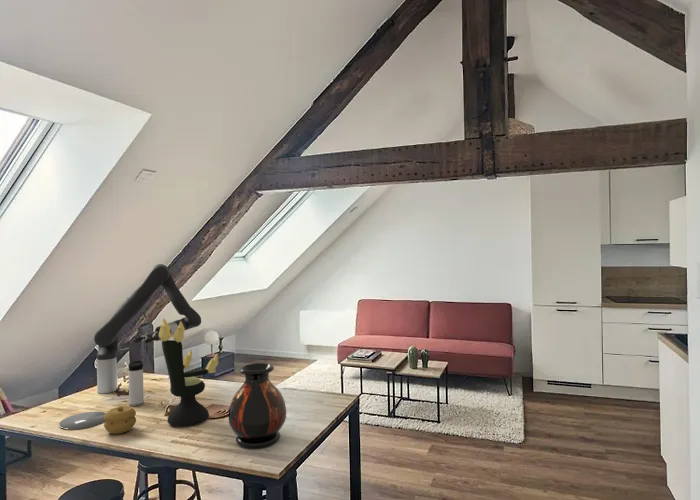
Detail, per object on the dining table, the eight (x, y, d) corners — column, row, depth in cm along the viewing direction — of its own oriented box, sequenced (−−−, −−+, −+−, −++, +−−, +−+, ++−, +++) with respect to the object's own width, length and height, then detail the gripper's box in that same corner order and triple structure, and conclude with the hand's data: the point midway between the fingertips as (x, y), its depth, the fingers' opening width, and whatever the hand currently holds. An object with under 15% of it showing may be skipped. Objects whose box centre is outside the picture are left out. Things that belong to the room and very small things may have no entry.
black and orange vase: (234, 430, 184) (233, 360, 184) (288, 428, 185) (287, 359, 185) (223, 454, 162) (221, 375, 162) (284, 451, 164) (283, 373, 164)
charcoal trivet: (59, 419, 200) (59, 417, 200) (106, 411, 209) (106, 408, 209) (59, 433, 185) (59, 430, 185) (109, 423, 194) (109, 421, 194)
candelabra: (221, 417, 198) (219, 313, 198) (178, 436, 179) (176, 321, 179) (191, 410, 208) (189, 311, 207) (147, 427, 189) (145, 318, 188)
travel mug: (146, 401, 221) (145, 360, 221) (139, 406, 214) (138, 364, 214) (134, 401, 222) (133, 360, 222) (126, 406, 215) (125, 363, 215)
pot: (97, 436, 181) (96, 411, 181) (116, 425, 192) (116, 401, 192) (124, 437, 179) (124, 412, 179) (142, 426, 191) (141, 402, 191)
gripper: (156, 324, 242) (129, 334, 228) (174, 323, 235) (147, 334, 221) (159, 337, 243) (132, 348, 229) (177, 338, 235) (150, 349, 222)
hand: (139, 341), depth 225 cm, fingers open, 8 cm apart
